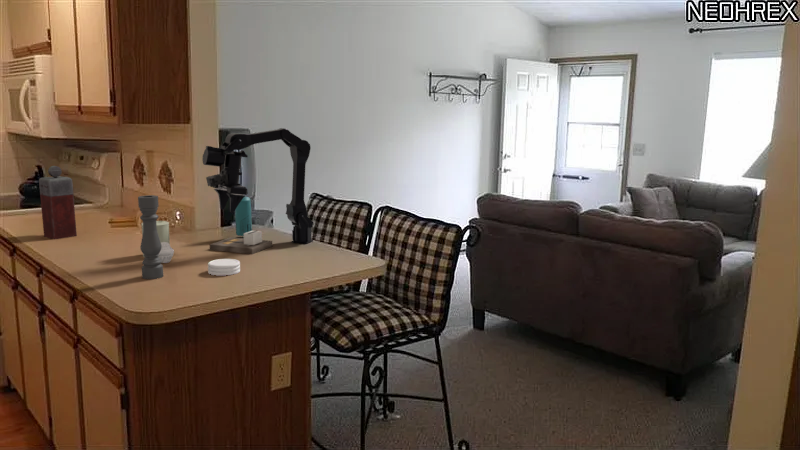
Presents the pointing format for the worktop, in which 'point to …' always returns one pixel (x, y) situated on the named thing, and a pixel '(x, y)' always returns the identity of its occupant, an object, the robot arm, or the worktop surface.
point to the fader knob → (252, 237)
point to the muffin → (166, 252)
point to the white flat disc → (223, 267)
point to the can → (162, 231)
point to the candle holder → (150, 238)
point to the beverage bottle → (243, 216)
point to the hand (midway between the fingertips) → (226, 211)
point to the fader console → (239, 246)
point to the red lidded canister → (57, 205)
